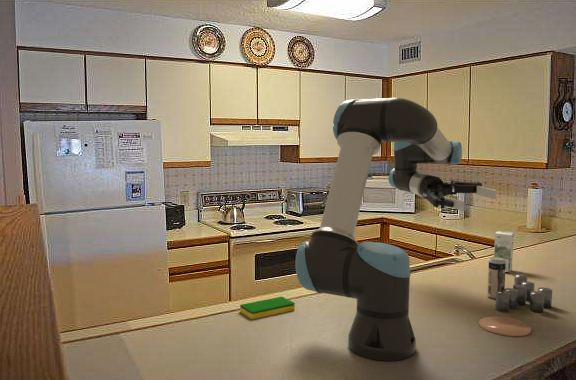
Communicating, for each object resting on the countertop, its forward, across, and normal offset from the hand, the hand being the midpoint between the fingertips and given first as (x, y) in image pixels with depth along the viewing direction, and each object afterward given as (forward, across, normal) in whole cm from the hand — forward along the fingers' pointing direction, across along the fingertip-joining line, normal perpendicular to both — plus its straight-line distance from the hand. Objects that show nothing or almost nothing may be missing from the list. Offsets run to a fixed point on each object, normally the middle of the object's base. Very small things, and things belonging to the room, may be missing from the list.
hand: (480, 200), depth 143 cm
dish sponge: (-18, +65, -20) cm, 70 cm away
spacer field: (+12, -4, -30) cm, 33 cm away
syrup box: (-14, -29, -39) cm, 51 cm away
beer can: (+5, 0, -30) cm, 31 cm away
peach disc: (+22, +18, -24) cm, 37 cm away
